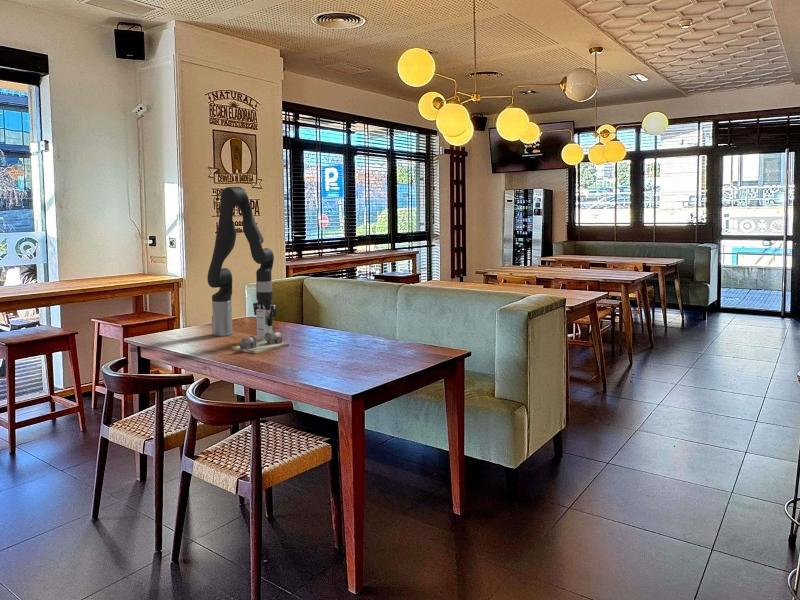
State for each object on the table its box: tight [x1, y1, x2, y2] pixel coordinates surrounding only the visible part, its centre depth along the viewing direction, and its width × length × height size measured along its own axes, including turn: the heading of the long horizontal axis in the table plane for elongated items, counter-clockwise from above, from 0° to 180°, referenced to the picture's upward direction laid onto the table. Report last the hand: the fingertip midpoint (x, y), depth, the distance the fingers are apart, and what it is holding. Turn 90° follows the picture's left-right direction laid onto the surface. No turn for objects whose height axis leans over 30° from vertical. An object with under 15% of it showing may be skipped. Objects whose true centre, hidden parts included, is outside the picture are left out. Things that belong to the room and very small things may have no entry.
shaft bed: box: [231, 331, 290, 355], centre depth 284 cm, size 16×21×6 cm
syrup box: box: [255, 309, 275, 340], centre depth 300 cm, size 6×6×14 cm
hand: (265, 325), depth 300 cm, fingers closed on syrup box, 6 cm apart
